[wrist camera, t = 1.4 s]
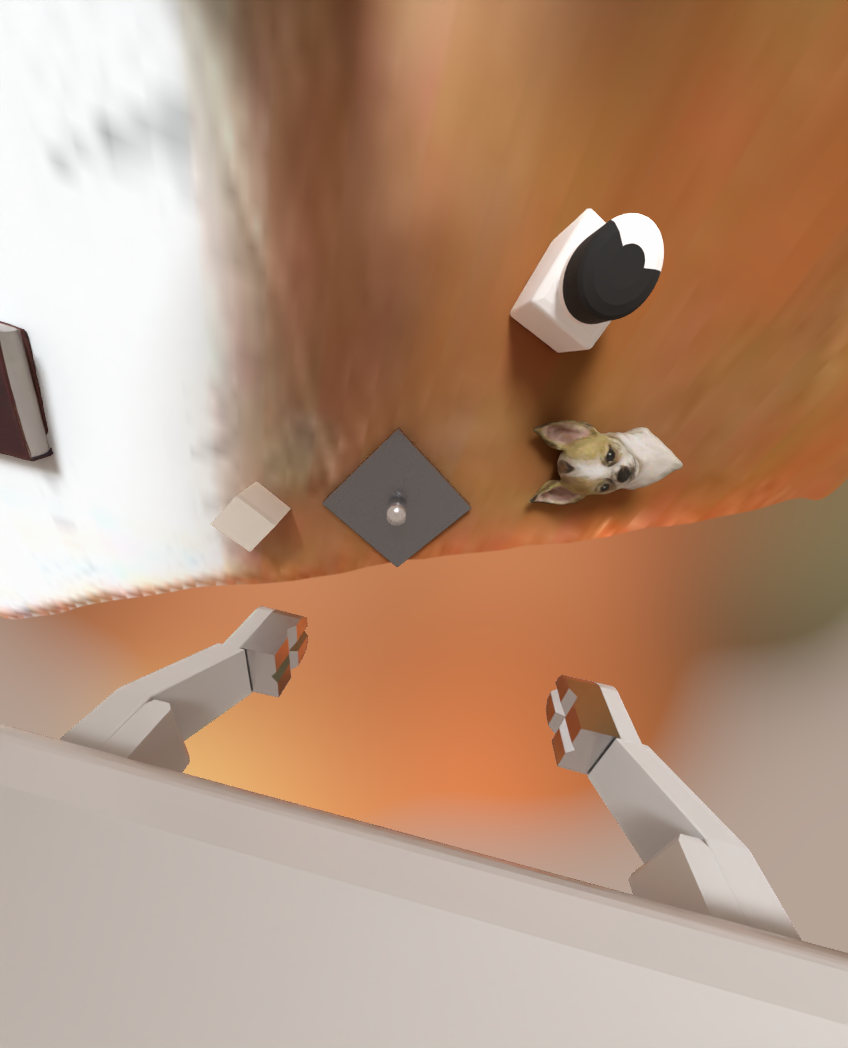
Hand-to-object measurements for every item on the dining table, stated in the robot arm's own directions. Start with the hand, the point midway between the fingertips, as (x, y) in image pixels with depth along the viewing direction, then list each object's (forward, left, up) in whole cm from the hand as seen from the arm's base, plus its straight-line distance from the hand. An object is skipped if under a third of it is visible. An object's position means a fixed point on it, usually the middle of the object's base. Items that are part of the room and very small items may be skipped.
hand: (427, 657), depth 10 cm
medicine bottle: (-1, +20, -32) cm, 38 cm away
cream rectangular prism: (-8, -22, -32) cm, 39 cm away
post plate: (+4, -8, -32) cm, 33 cm away
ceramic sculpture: (+16, +14, -32) cm, 39 cm away
